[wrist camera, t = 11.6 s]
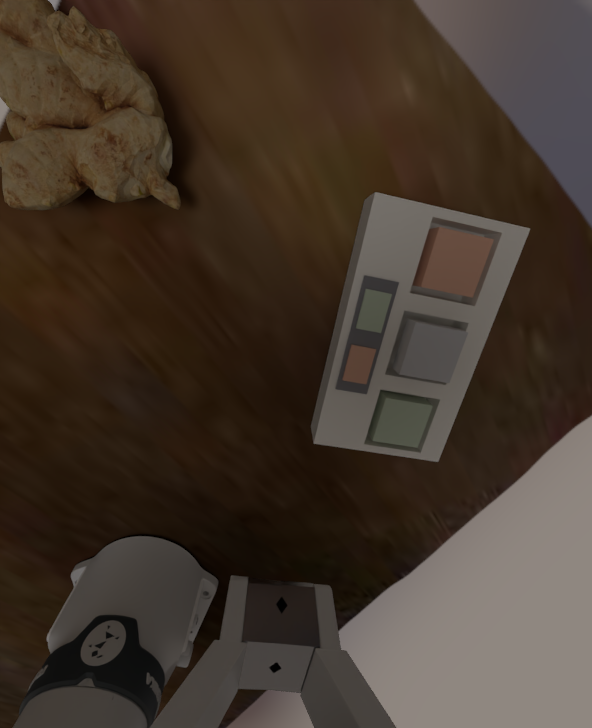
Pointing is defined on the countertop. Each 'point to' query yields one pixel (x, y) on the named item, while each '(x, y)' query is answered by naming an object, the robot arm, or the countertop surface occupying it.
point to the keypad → (389, 315)
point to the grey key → (429, 350)
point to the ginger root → (76, 113)
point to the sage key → (399, 419)
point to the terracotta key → (452, 261)
